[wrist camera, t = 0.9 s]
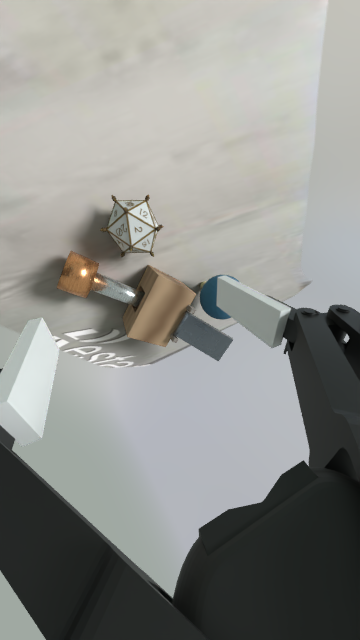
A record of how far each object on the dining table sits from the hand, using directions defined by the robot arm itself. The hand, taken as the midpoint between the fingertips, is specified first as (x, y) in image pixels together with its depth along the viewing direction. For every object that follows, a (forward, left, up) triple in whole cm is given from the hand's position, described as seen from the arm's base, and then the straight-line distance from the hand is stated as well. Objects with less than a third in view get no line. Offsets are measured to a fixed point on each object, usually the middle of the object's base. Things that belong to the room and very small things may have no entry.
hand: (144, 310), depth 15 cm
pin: (+2, -5, -22) cm, 23 cm away
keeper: (+17, -5, -13) cm, 22 cm away
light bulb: (+19, +3, -23) cm, 30 cm away
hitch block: (+10, -5, -23) cm, 25 cm away
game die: (0, +5, -23) cm, 24 cm away
